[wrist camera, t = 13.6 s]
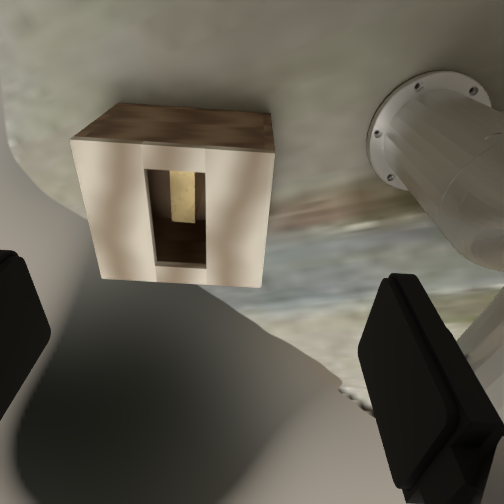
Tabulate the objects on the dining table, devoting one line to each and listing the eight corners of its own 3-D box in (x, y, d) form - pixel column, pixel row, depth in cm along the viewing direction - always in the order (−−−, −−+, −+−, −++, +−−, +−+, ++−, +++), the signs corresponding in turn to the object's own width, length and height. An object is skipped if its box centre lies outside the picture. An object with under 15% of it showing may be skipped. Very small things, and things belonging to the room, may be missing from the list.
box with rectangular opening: (270, 113, 38) (275, 153, 28) (260, 226, 46) (260, 287, 36) (118, 102, 37) (69, 139, 28) (135, 218, 45) (101, 278, 36)
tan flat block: (194, 223, 37) (202, 195, 43) (194, 169, 34) (203, 146, 39) (171, 221, 37) (182, 193, 42) (169, 166, 34) (181, 143, 39)
